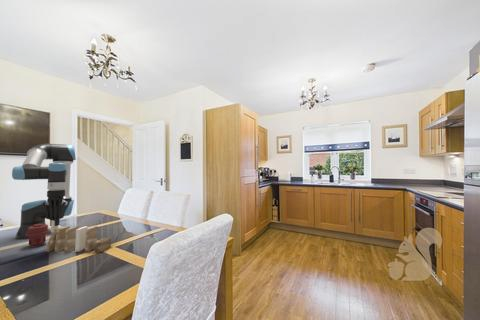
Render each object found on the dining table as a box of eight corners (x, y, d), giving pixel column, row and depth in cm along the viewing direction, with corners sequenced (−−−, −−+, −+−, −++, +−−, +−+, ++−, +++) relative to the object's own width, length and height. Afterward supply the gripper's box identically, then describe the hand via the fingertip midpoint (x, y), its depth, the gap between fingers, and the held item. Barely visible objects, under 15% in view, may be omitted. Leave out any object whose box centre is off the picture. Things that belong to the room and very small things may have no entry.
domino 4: (87, 247, 111) (88, 226, 111) (78, 251, 105) (79, 229, 105) (83, 247, 111) (84, 226, 111) (74, 251, 105) (75, 229, 105)
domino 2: (54, 251, 104) (56, 229, 105) (64, 247, 110) (66, 226, 111) (58, 251, 104) (60, 229, 105) (68, 247, 110) (69, 226, 111)
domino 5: (85, 251, 105) (86, 229, 105) (93, 247, 111) (94, 226, 111) (88, 251, 105) (89, 229, 105) (96, 247, 111) (97, 226, 111)
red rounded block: (53, 242, 118) (32, 249, 108) (40, 241, 120) (19, 248, 110) (54, 222, 118) (34, 227, 108) (41, 221, 120) (21, 226, 110)
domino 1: (44, 250, 104) (53, 229, 105) (55, 246, 110) (63, 226, 111) (48, 251, 104) (56, 230, 105) (58, 247, 110) (66, 227, 111)
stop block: (93, 252, 104) (94, 242, 104) (104, 246, 112) (104, 237, 112) (101, 252, 104) (101, 242, 104) (111, 246, 112) (111, 237, 112)
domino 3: (64, 251, 105) (65, 229, 105) (74, 247, 110) (75, 226, 111) (68, 251, 105) (69, 229, 105) (77, 247, 111) (78, 226, 111)
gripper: (38, 190, 105) (35, 233, 104) (61, 190, 105) (59, 233, 104) (51, 189, 113) (49, 229, 111) (73, 189, 113) (71, 229, 112)
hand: (54, 231), depth 108 cm, fingers closed
